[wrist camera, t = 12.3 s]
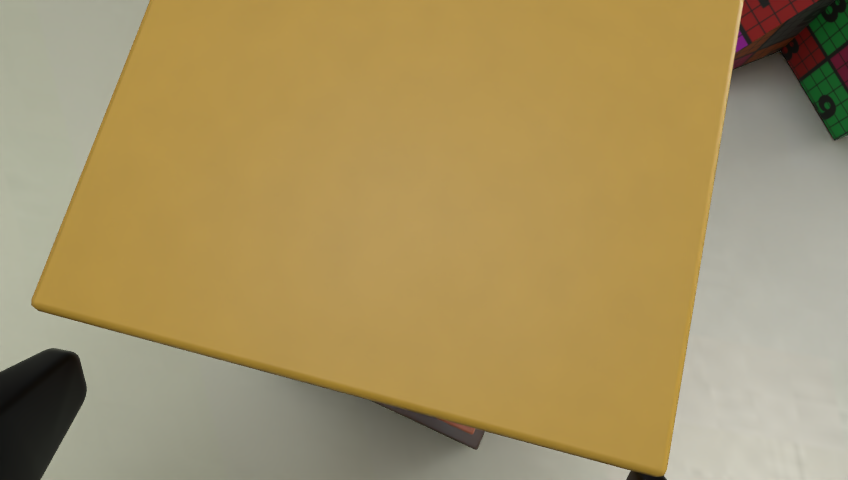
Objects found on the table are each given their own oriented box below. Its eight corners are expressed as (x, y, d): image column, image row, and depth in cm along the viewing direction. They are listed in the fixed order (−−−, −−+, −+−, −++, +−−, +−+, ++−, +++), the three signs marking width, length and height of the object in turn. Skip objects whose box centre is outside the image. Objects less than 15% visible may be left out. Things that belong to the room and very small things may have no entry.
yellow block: (496, 400, 17) (669, 481, 5) (315, 352, 18) (23, 307, 5) (536, 222, 19) (763, -100, 6) (365, 180, 19) (228, -209, 6)
